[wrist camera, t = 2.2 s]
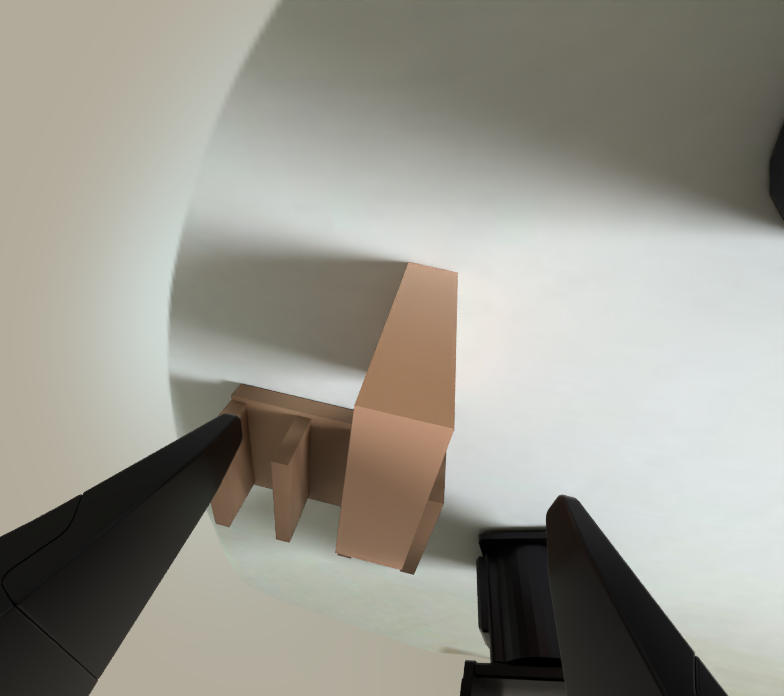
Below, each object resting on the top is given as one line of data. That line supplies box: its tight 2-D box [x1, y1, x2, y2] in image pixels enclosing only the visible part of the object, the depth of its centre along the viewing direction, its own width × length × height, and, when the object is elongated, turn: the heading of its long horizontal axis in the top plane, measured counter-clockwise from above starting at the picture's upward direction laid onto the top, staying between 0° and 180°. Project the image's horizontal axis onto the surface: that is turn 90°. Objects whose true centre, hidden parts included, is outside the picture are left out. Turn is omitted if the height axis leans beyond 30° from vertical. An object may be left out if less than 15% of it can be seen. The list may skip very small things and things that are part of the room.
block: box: [335, 262, 458, 570], centre depth 12 cm, size 2×6×8 cm, turn 171°
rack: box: [211, 384, 446, 575], centre depth 19 cm, size 12×8×4 cm, turn 81°
